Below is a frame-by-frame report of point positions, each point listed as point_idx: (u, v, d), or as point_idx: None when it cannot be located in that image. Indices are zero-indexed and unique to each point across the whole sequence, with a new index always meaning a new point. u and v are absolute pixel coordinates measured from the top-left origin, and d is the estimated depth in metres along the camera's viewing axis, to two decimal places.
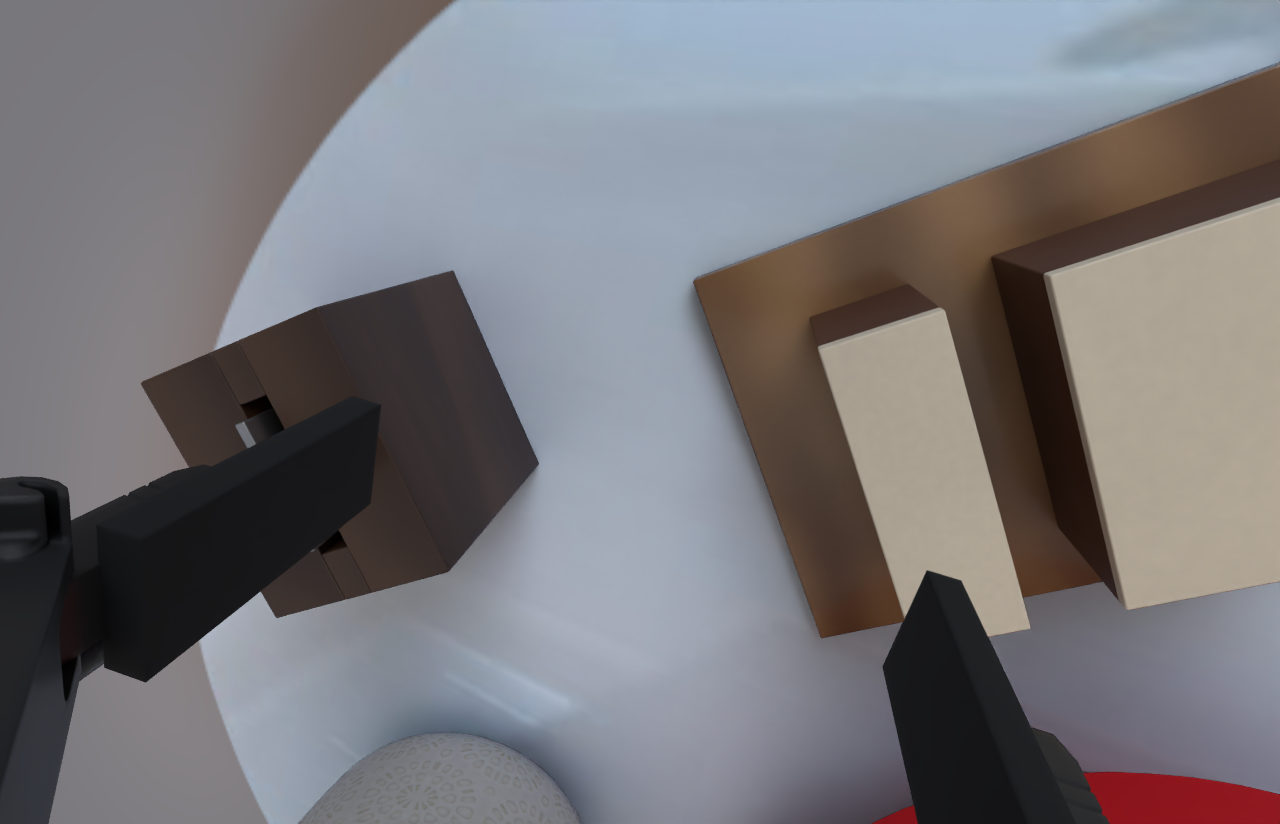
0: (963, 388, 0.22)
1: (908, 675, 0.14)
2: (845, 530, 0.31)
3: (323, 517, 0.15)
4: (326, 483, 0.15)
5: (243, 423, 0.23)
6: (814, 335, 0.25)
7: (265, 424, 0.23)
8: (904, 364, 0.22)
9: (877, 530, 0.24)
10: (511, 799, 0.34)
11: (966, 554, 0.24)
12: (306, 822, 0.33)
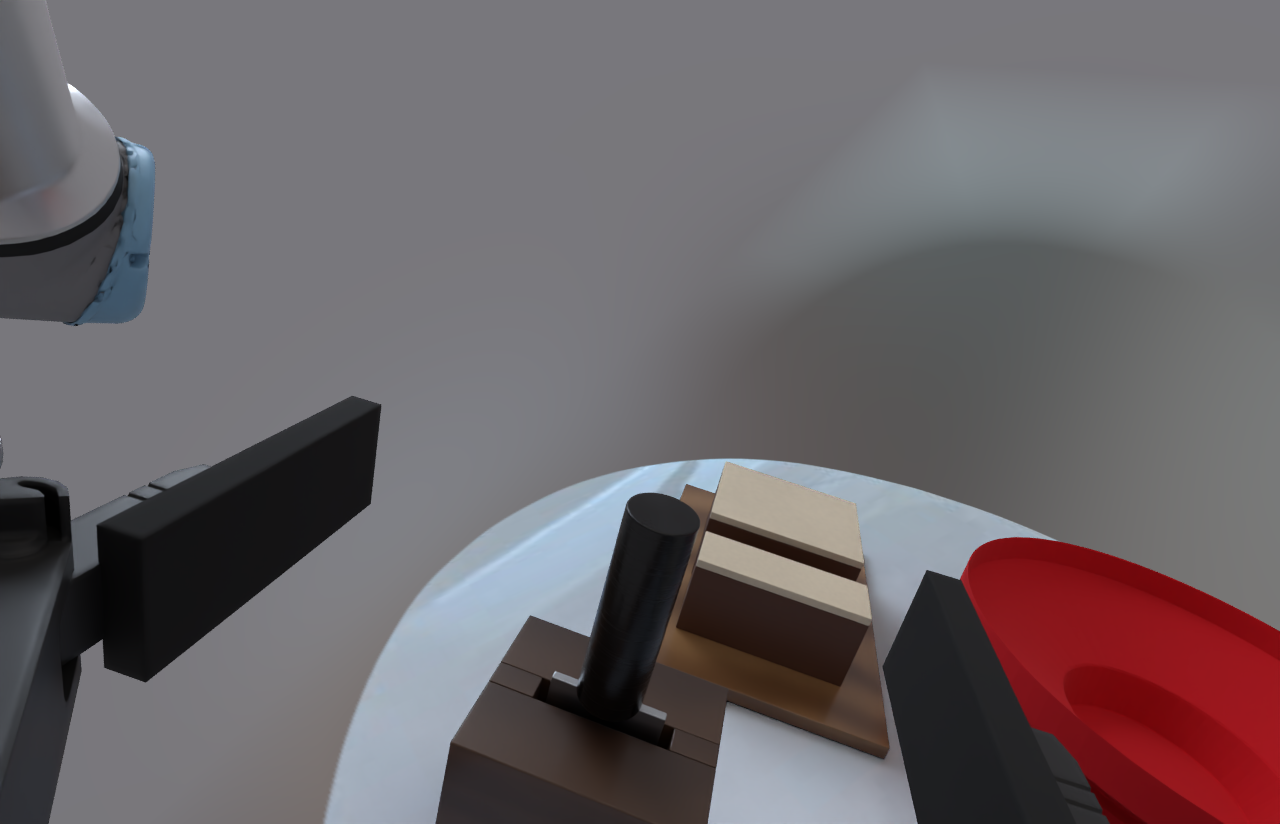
0: (741, 543, 0.50)
1: (908, 675, 0.14)
2: (809, 689, 0.46)
3: (323, 517, 0.15)
4: (326, 483, 0.15)
5: (555, 671, 0.29)
6: (688, 589, 0.47)
7: None
8: (721, 547, 0.48)
9: (796, 593, 0.45)
10: None
11: (820, 579, 0.48)
12: None
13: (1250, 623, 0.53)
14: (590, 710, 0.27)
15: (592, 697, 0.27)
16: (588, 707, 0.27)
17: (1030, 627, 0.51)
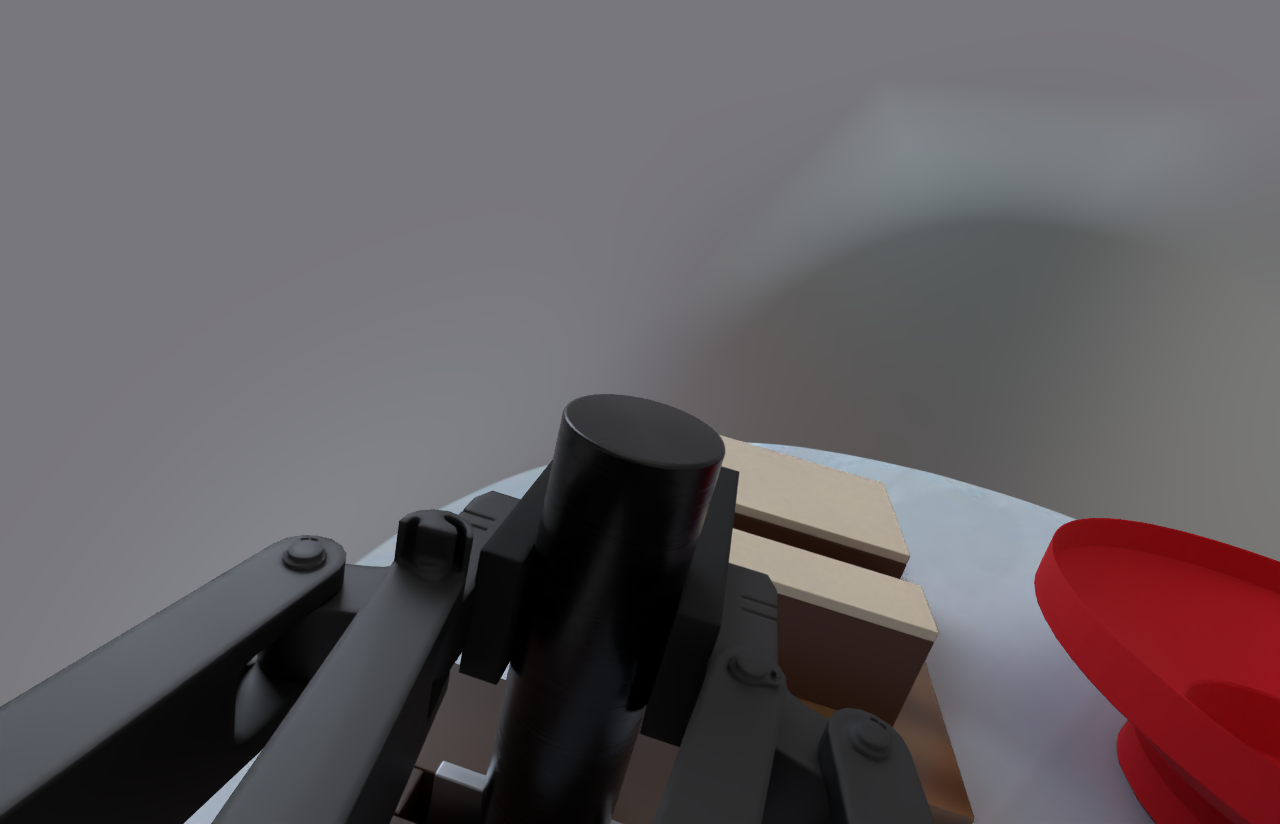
0: (747, 533, 0.36)
1: None
2: None
3: None
4: None
5: (444, 761, 0.15)
6: None
7: None
8: None
9: (830, 598, 0.32)
10: None
11: (859, 579, 0.34)
12: None
13: None
14: None
15: (508, 821, 0.13)
16: None
17: (1129, 634, 0.39)
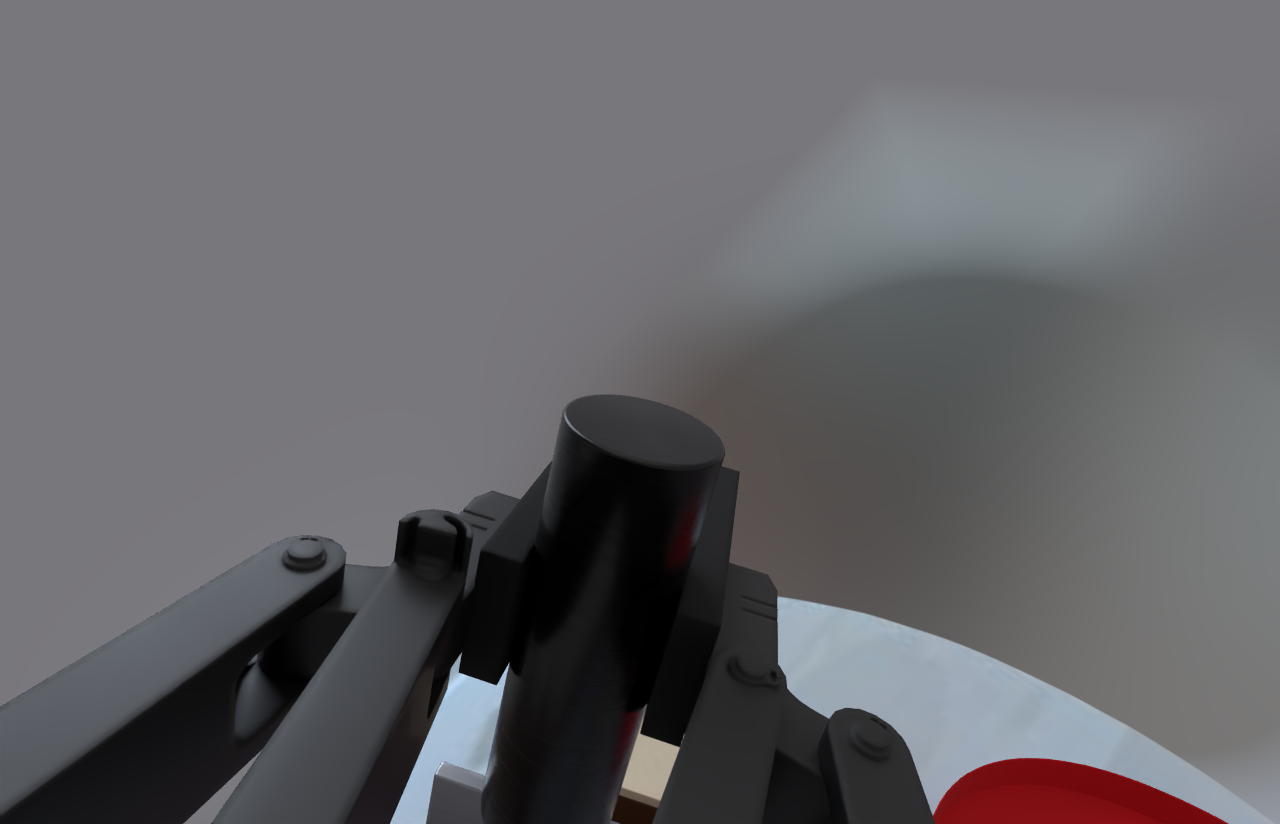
0: None
1: None
2: None
3: None
4: None
5: (443, 762, 0.15)
6: None
7: None
8: None
9: None
10: None
11: None
12: None
13: None
14: None
15: (507, 822, 0.13)
16: None
17: None
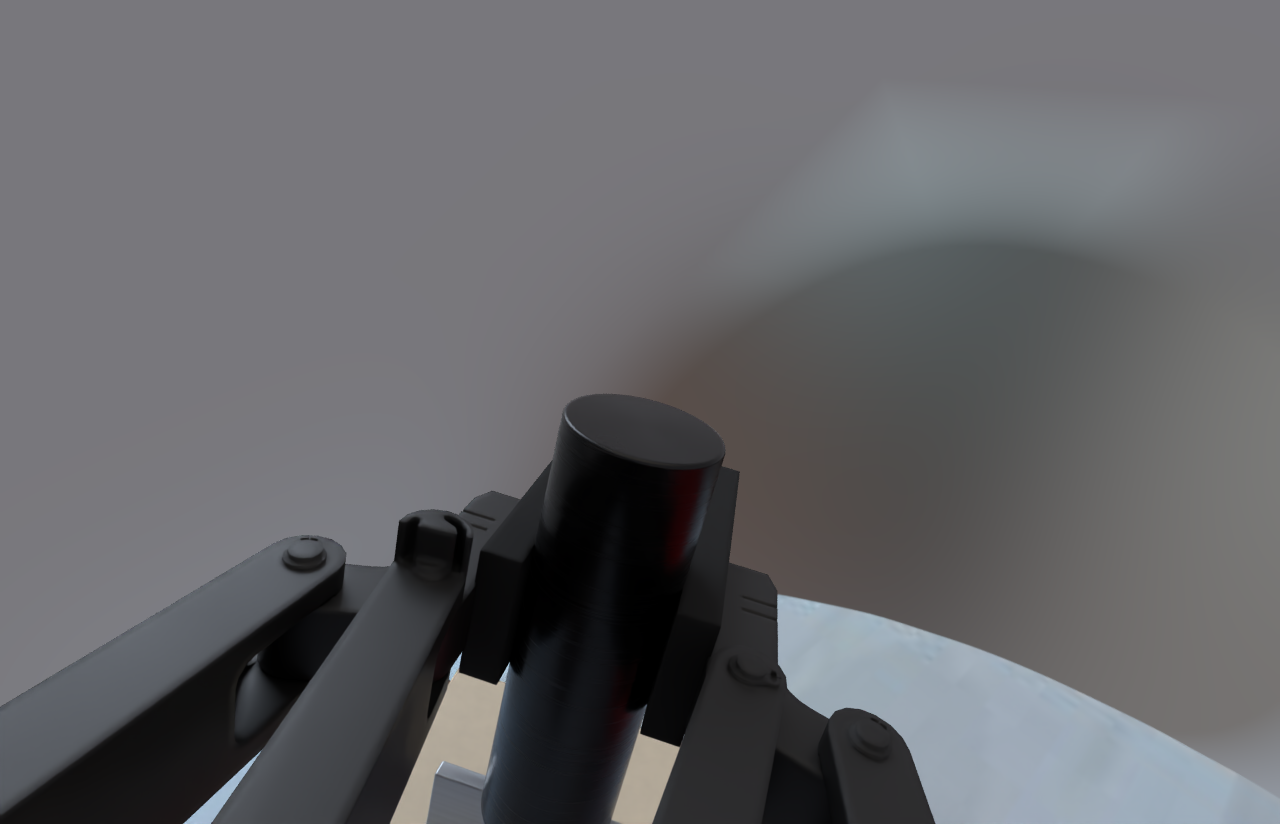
0: None
1: None
2: None
3: None
4: None
5: (444, 761, 0.15)
6: None
7: None
8: None
9: None
10: None
11: None
12: None
13: None
14: None
15: (508, 821, 0.13)
16: None
17: None
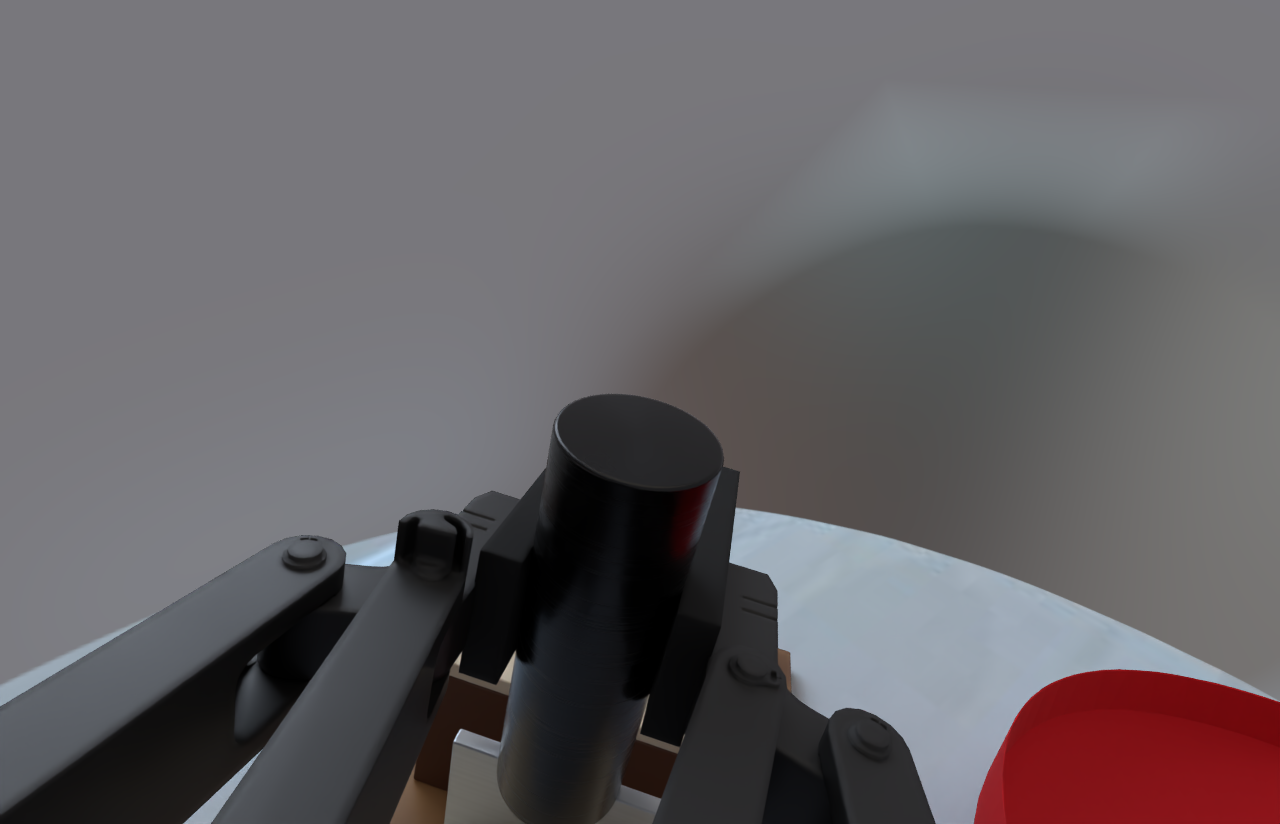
0: None
1: None
2: None
3: None
4: None
5: (461, 729, 0.16)
6: None
7: None
8: None
9: None
10: None
11: None
12: None
13: None
14: (518, 814, 0.14)
15: (520, 794, 0.14)
16: (514, 810, 0.14)
17: None
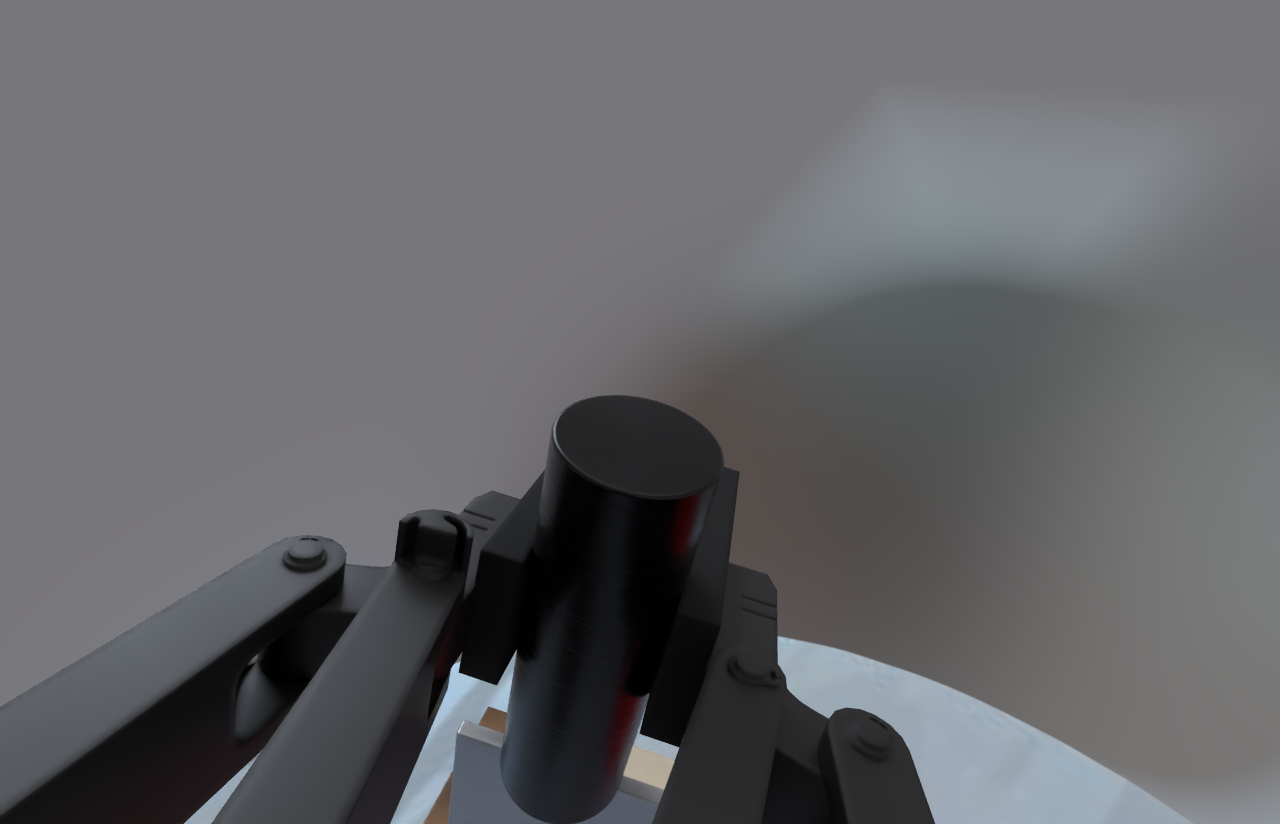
0: None
1: None
2: None
3: None
4: None
5: (465, 721, 0.16)
6: None
7: None
8: None
9: None
10: None
11: None
12: None
13: None
14: (521, 805, 0.14)
15: (523, 786, 0.14)
16: (517, 801, 0.14)
17: None
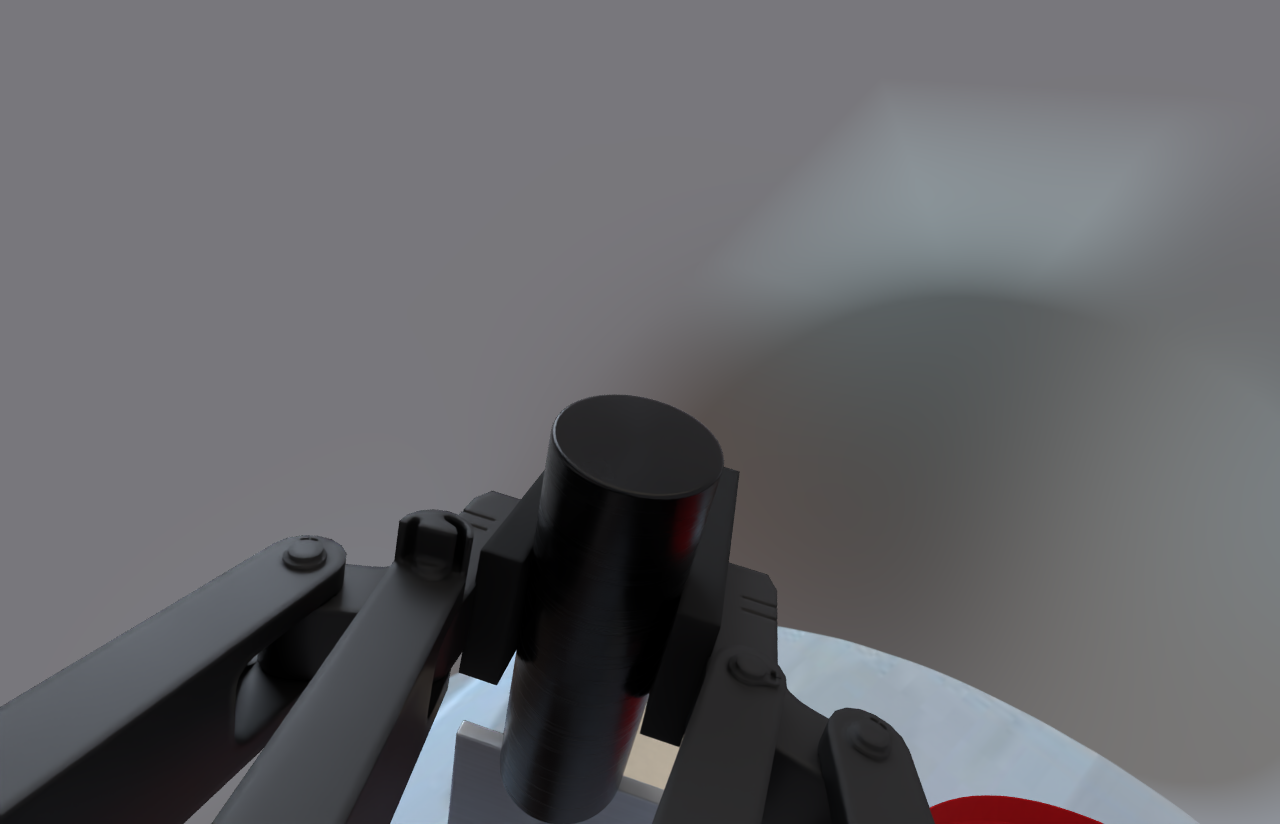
0: None
1: None
2: None
3: None
4: None
5: (465, 721, 0.16)
6: None
7: None
8: None
9: None
10: None
11: None
12: None
13: None
14: (521, 806, 0.14)
15: (523, 786, 0.14)
16: (517, 801, 0.14)
17: None
